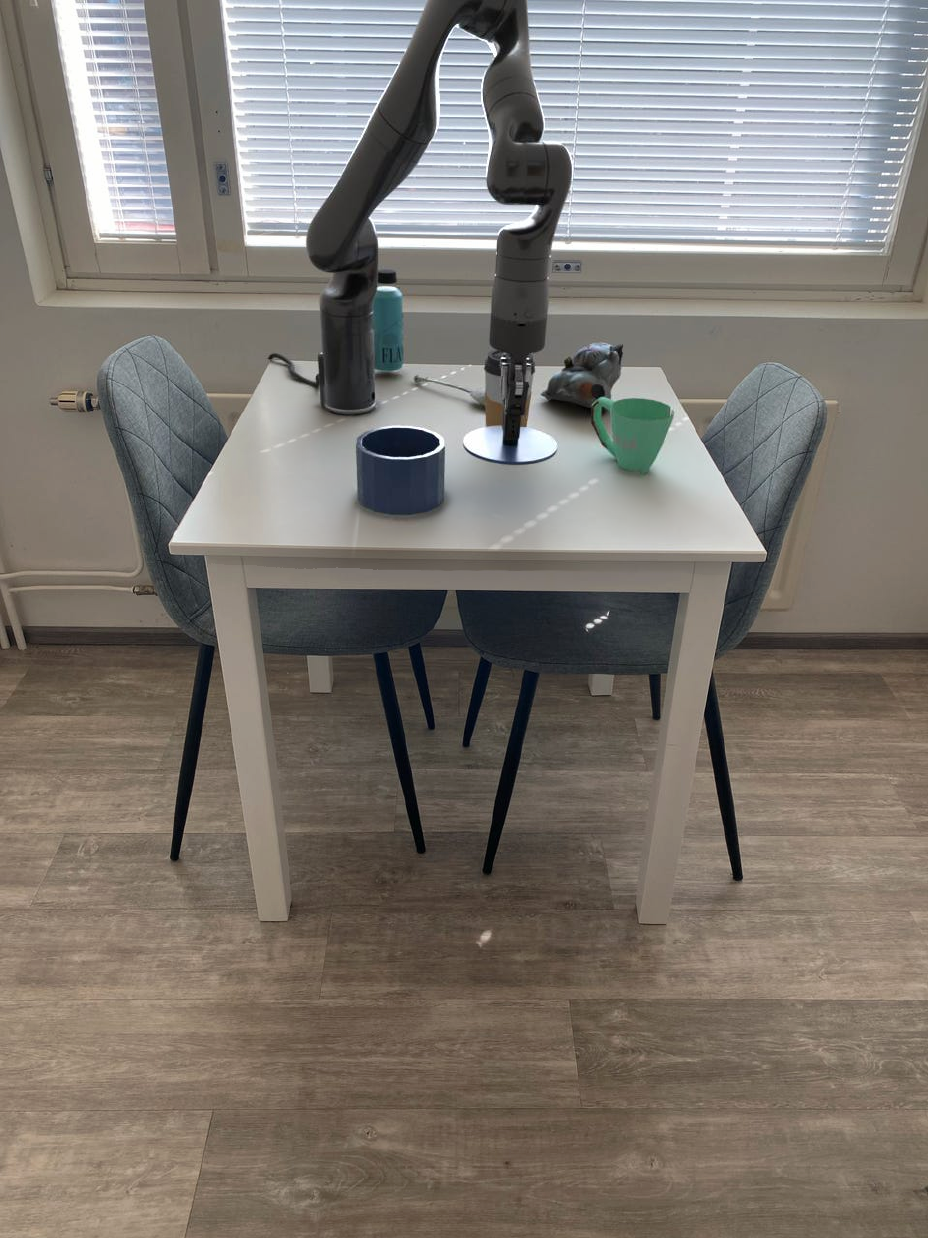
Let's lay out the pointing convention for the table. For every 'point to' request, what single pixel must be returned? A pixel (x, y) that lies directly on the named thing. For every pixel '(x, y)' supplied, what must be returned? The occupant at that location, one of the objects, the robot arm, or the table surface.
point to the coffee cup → (494, 390)
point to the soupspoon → (475, 394)
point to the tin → (400, 470)
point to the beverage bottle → (388, 323)
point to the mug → (633, 430)
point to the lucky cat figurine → (587, 375)
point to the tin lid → (510, 446)
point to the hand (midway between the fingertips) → (510, 434)
